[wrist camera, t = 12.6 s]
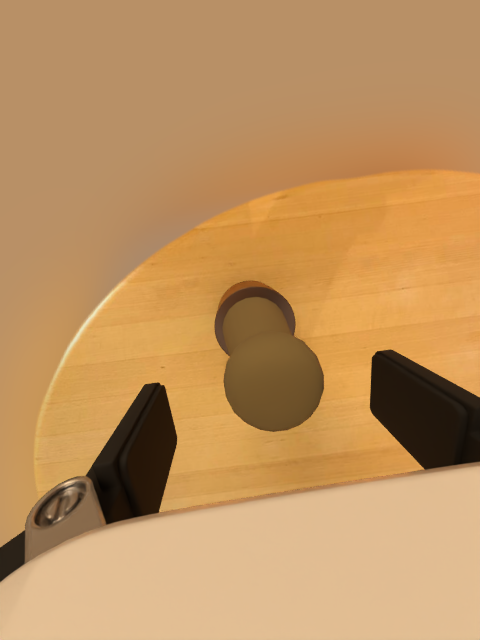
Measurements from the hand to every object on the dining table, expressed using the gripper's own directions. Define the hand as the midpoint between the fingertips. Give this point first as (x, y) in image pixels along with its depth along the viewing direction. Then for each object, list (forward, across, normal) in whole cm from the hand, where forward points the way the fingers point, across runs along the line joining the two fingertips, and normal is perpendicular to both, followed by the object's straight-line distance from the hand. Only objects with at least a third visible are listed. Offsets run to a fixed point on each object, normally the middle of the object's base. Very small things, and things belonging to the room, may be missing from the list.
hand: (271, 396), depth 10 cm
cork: (+11, -1, 0) cm, 11 cm away
